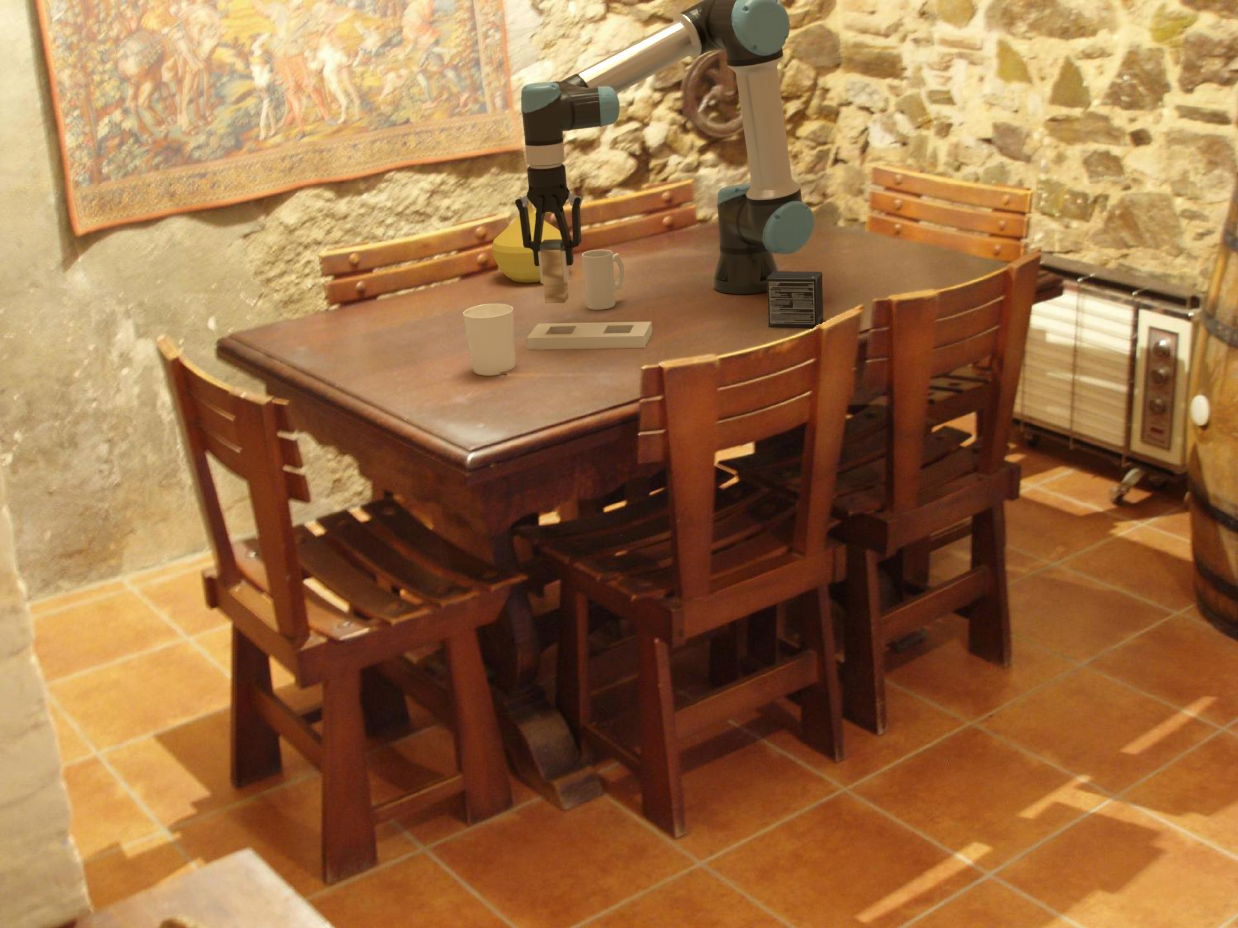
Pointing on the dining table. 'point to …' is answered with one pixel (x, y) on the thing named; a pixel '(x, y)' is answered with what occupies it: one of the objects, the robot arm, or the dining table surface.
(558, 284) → the plug
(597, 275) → the mug
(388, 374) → the dining table surface
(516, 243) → the vase
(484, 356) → the beige cup
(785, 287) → the small box
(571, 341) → the panel
